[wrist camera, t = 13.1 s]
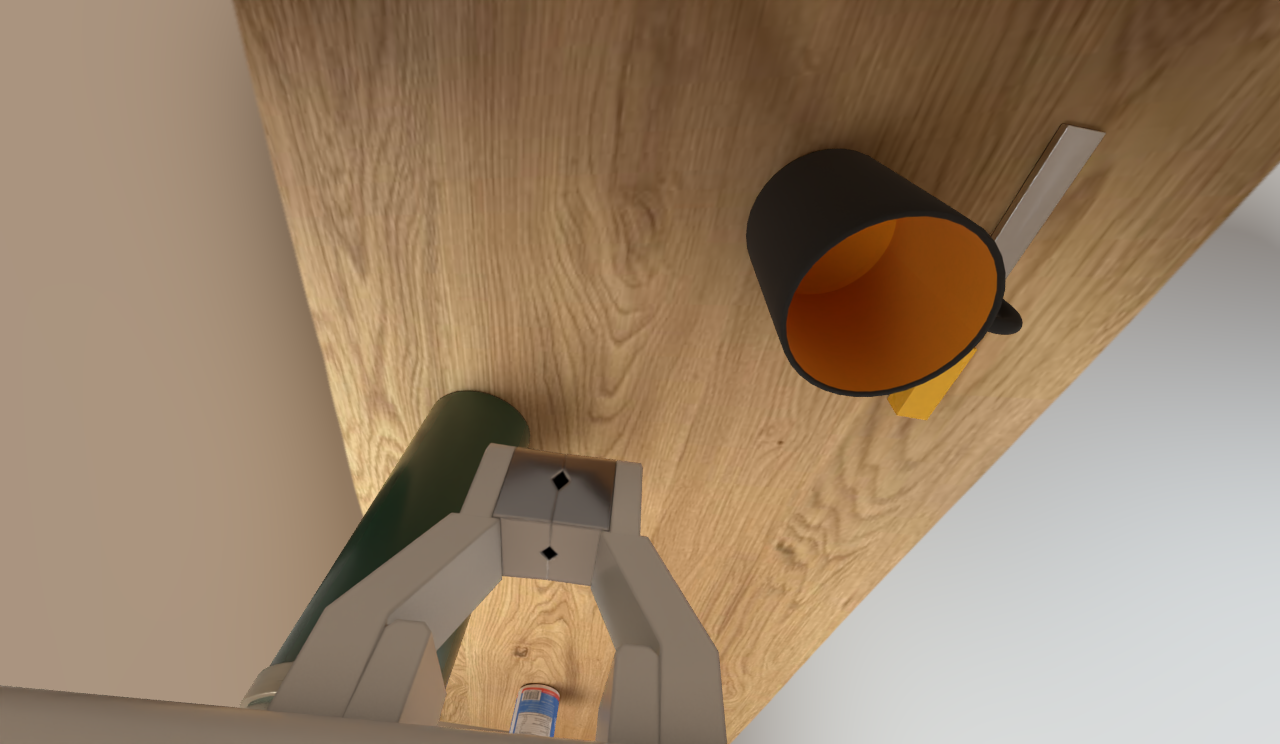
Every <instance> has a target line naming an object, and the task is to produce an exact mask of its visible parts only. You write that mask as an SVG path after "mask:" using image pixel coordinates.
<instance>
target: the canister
mask: <svg viewBox="0 0 1280 744" xmlns="http://www.w3.org/2000/svg"><path fill="white" fill-rule="evenodd" d="M529 442H530V432H529V428H528V425H527V423H526V421H525V420H524V418H523V417H522V415H521V414H520V413H519V412H518V411H517V410H516V409H515V408H514V407H512V406H511V405H510V404H508V403H507V402H505V401H504V400H502V399H500V398H498V397H495V396H493V395H490V394H486V393H482V392H476V391H460V392H455V393H451V394H449V395H446V396H444V397H443V398H441V399H440V400H438V401H437V402H436V403H435V405H434V406H433V408H432V409H431V411H430V412H429V414H428V415H427V417H426V419H425V420H424V422H423V423H422V425H421V427H420V428H419V430H418V431H417V433H416V435H415V436H414V438H413V439H412V441H411V442H410V444H409V446H408V447H407V449H406V450H405V452H404V454H403V455H402V457H401V458H400V460H399V462H398V463H397V465H396V466H395V468H394V469H393V471H392V473H391V474H390V476H389V477H388V479H387V481H386V482H385V484H384V485H383V487H382V488H381V490H380V492H379V493H378V495H377V496H376V498H375V500H374V501H373V503H372V504H371V506H370V508H369V509H368V511H367V512H366V514H365V515H364V517H363V519H362V520H361V522H360V523H359V525H358V527H357V528H356V530H355V531H354V533H353V535H352V536H351V538H350V540H349V541H348V543H347V544H346V546H345V547H344V549H343V550H342V552H341V554H340V555H339V557H338V558H337V560H336V561H335V563H334V565H333V566H332V568H331V569H330V571H329V573H328V574H327V576H326V577H325V579H324V581H323V582H322V584H321V586H320V587H319V588H318V590H317V592H316V594H315V595H314V597H313V598H312V600H311V602H310V603H309V604H308V606H307V608H306V609H305V611H304V612H303V614H302V616H301V617H300V619H299V620H298V622H297V623H296V625H295V627H294V628H293V630H292V631H291V633H290V635H289V636H288V638H287V639H286V641H285V643H284V644H283V646H282V647H281V649H280V650H279V652H278V654H277V655H276V657H275V658H274V660H273V661H272V663H271V665H270V666H269V667H267V668H266V669H264V670H263V671H262V672H261V673H260V674H259V675H258V676H257V678H256V680H255V681H254V683H253V684H252V686H251V687H250V689H249V690H248V692H247V694H246V695H245V697H244V698H243V700H242V702H241V704H240V708H247V709H257V710H267V708H268V706H269V705H270V703H271V701H272V699H273V698H274V696H275V694H276V692H277V691H278V689H279V687H280V685H281V684H282V682H283V680H284V679H285V677H286V675H287V673H288V672H289V670H290V668H291V666H292V665H293V663H294V661H295V659H296V658H297V656H298V654H299V652H300V651H301V649H302V647H303V646H304V644H305V642H306V640H307V639H308V637H309V635H310V633H311V632H312V630H313V628H314V626H315V625H316V623H317V621H318V619H319V618H320V616H321V614H322V613H323V611H324V609H325V608H326V607H327V606H328V605H330V604H331V603H332V602H334V601H335V600H336V599H338V598H339V597H340V596H342V595H343V594H344V593H346V592H347V591H348V590H350V589H351V588H352V587H354V586H355V585H356V584H357V583H359V582H360V581H361V580H363V579H364V578H365V577H367V576H368V575H369V574H371V573H372V572H373V571H375V570H376V569H377V568H379V567H380V566H381V565H383V564H384V563H385V562H387V561H388V560H389V559H391V558H392V557H393V556H395V555H396V554H397V553H399V552H400V551H401V550H403V549H404V548H405V547H406V546H408V545H409V544H410V543H412V542H413V541H414V540H416V539H417V538H418V537H420V536H421V535H422V534H424V533H425V532H426V531H428V530H429V529H430V528H432V527H433V526H434V525H436V524H437V523H438V522H440V521H441V520H442V519H444V518H445V517H446V516H448V515H449V514H450V513H460V511H461V509H462V506H463V504H464V501H465V499H466V496H467V494H468V492H469V489H470V487H471V484H472V482H473V479H474V477H475V475H476V472H477V470H478V467H479V465H480V462H481V460H482V457H483V455H484V453H485V450H486V448H487V447H488V446H489V445H490V443H495V444H501V445H508V446H514V447H522V448H528V445H529ZM470 616H471V614H470V615H469V616H468V617H467V618H466V619H465V620H464V621H463V622H462V624H461V625H460V626H459V627H458V628H457V629H456V630H455V631H454V632H453V633H452V634H451V636H450V637H449V638H448V639H447V640H446V641H445V642H444V643H443V644H442V645H441V647H440V648H439V649H438V650H437V651H436V652H437V657H438V661H439V665H440V669H441V673H442V677H443V681H444V686H445V689H446V686H447V683H448V680H449V677H450V675H451V672H452V669H453V666H454V663H455V660H456V657H457V654H458V651H459V648H460V645H461V642H462V639H463V636H464V633H465V630H466V628H467V625H468V622H469V619H470ZM440 716H441V714H440ZM439 720H440V717H439ZM439 720H438V723H439ZM437 725H438V724H437Z"/></svg>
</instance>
